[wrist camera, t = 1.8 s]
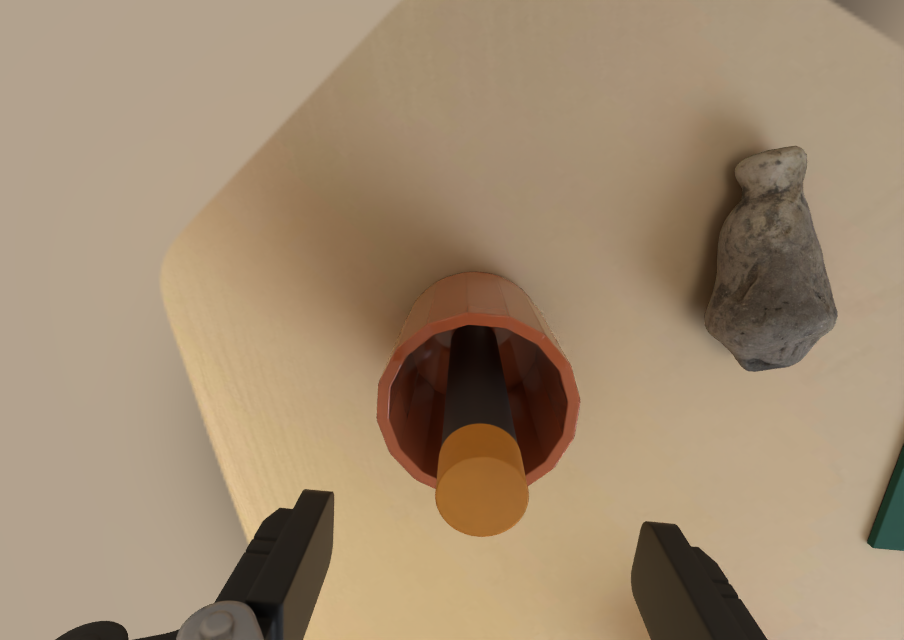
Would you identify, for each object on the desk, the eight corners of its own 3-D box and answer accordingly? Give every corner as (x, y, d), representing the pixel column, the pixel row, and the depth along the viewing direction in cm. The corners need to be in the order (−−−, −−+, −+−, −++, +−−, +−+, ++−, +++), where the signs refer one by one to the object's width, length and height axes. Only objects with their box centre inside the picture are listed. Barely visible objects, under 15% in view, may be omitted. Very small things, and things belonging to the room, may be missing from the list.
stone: (721, 141, 26) (661, 224, 22) (854, 118, 22) (808, 215, 18) (747, 291, 31) (701, 381, 27) (859, 295, 27) (825, 402, 23)
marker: (452, 318, 27) (439, 452, 14) (500, 323, 27) (534, 460, 14) (447, 364, 28) (431, 533, 15) (495, 368, 28) (522, 541, 15)
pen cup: (408, 265, 27) (381, 304, 19) (553, 278, 27) (594, 323, 19) (400, 398, 29) (372, 489, 21) (534, 410, 29) (562, 506, 21)
